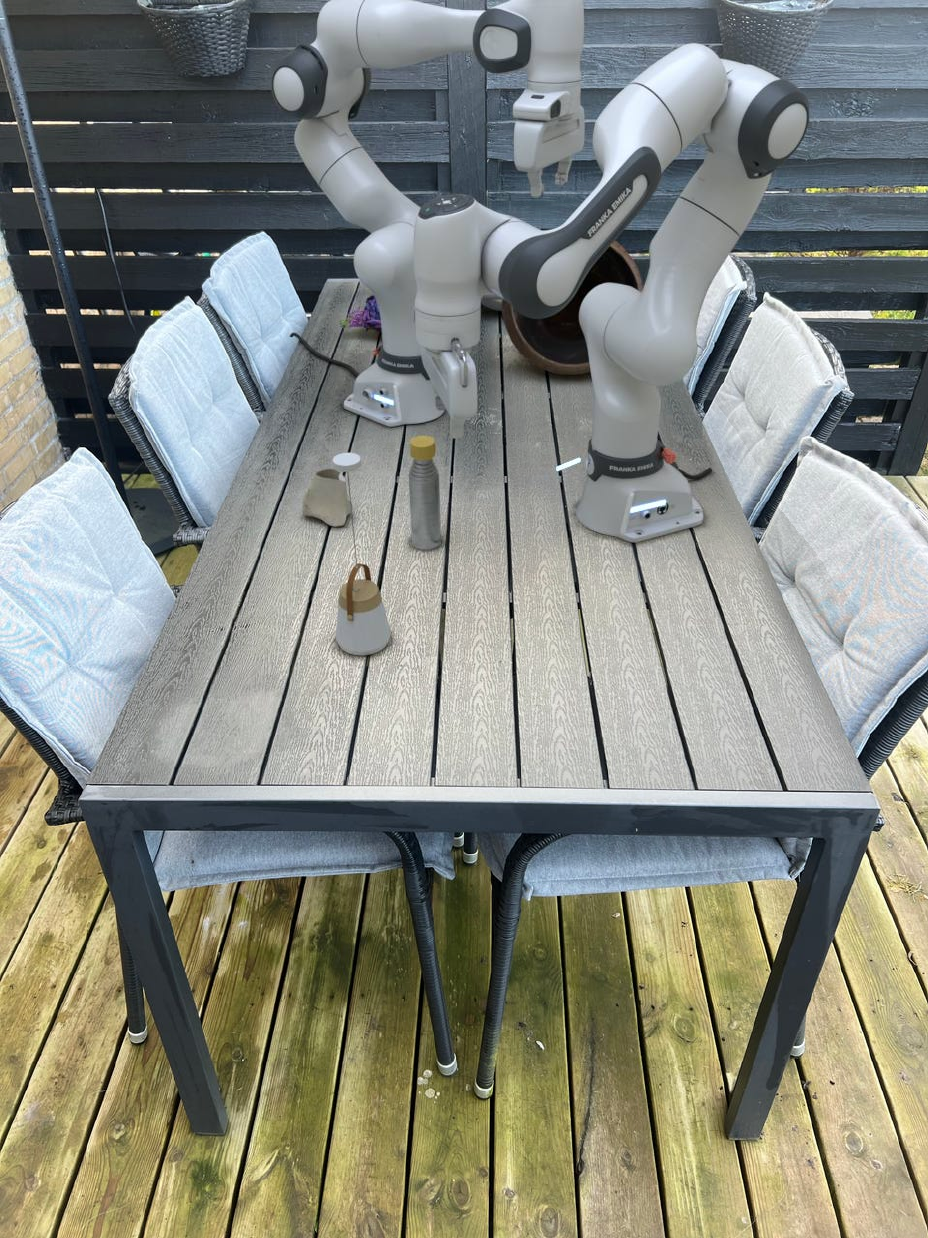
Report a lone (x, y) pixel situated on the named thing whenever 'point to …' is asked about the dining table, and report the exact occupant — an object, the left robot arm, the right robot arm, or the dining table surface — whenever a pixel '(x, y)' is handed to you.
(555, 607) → the dining table surface
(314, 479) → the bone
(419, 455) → the cap
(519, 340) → the pot
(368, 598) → the pendant light
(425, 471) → the bottle
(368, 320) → the decorative ornament
